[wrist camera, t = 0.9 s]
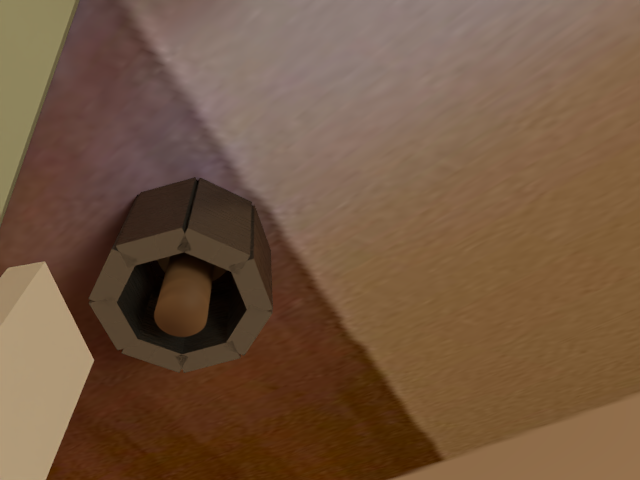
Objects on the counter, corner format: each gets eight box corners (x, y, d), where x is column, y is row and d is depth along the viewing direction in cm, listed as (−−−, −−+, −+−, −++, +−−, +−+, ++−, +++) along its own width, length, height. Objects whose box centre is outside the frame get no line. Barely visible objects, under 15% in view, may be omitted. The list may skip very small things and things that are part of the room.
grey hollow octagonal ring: (101, 272, 37) (70, 336, 31) (155, 156, 33) (132, 204, 27) (228, 320, 40) (223, 387, 34) (290, 220, 37) (297, 275, 31)
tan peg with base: (146, 259, 37) (120, 332, 30) (175, 202, 35) (155, 265, 28) (213, 286, 39) (203, 361, 32) (245, 233, 37) (241, 300, 30)
